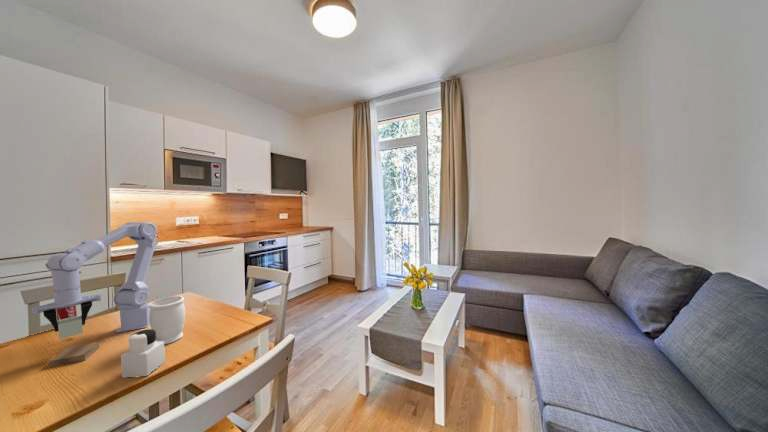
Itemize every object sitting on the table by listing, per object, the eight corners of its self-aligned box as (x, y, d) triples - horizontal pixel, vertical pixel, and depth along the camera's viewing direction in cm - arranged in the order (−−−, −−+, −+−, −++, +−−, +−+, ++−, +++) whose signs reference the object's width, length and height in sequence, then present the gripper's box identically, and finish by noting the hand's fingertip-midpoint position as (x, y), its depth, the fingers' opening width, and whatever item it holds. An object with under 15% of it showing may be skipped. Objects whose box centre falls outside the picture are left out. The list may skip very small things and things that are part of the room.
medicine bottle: (142, 363, 82) (139, 327, 81) (165, 361, 82) (163, 326, 82) (121, 378, 75) (118, 339, 74) (147, 377, 75) (144, 338, 75)
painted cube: (81, 328, 90) (80, 315, 90) (82, 333, 87) (81, 319, 87) (59, 334, 86) (57, 320, 86) (59, 339, 83) (58, 324, 83)
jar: (189, 338, 96) (187, 300, 95) (152, 350, 89) (149, 309, 88) (183, 329, 103) (181, 293, 103) (149, 339, 96) (147, 300, 95)
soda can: (63, 328, 104) (60, 300, 104) (54, 327, 105) (51, 299, 105) (80, 322, 109) (78, 295, 109) (71, 321, 110) (69, 295, 110)
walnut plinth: (99, 347, 91) (98, 342, 91) (85, 360, 83) (84, 354, 83) (67, 353, 87) (66, 348, 87) (49, 367, 80) (48, 361, 80)
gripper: (98, 280, 94) (100, 316, 95) (31, 292, 82) (34, 332, 83) (100, 284, 90) (103, 321, 90) (30, 296, 78) (34, 339, 79)
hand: (70, 327), depth 87 cm, fingers closed on painted cube, 5 cm apart
